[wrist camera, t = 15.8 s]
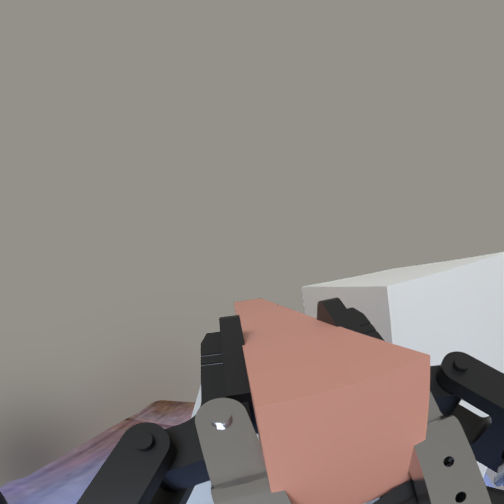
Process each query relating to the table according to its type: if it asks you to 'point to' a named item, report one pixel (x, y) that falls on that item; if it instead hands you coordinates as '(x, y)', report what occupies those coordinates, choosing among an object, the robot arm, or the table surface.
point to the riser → (421, 315)
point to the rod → (331, 405)
